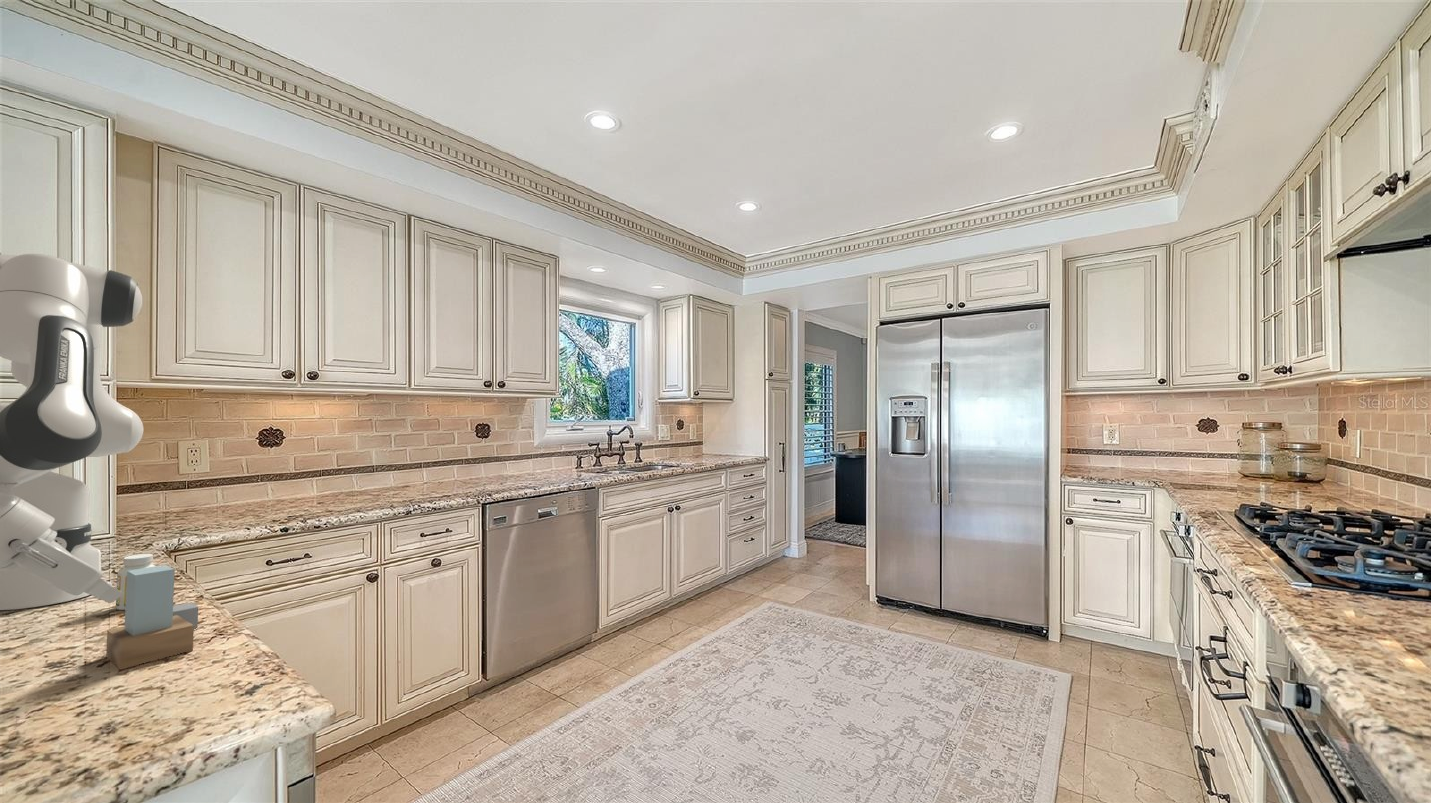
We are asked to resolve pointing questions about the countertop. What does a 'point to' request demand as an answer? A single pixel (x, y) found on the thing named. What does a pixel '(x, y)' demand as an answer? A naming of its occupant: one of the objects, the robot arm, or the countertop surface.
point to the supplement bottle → (130, 564)
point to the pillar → (149, 599)
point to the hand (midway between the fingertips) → (107, 592)
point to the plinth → (149, 644)
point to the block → (187, 613)
